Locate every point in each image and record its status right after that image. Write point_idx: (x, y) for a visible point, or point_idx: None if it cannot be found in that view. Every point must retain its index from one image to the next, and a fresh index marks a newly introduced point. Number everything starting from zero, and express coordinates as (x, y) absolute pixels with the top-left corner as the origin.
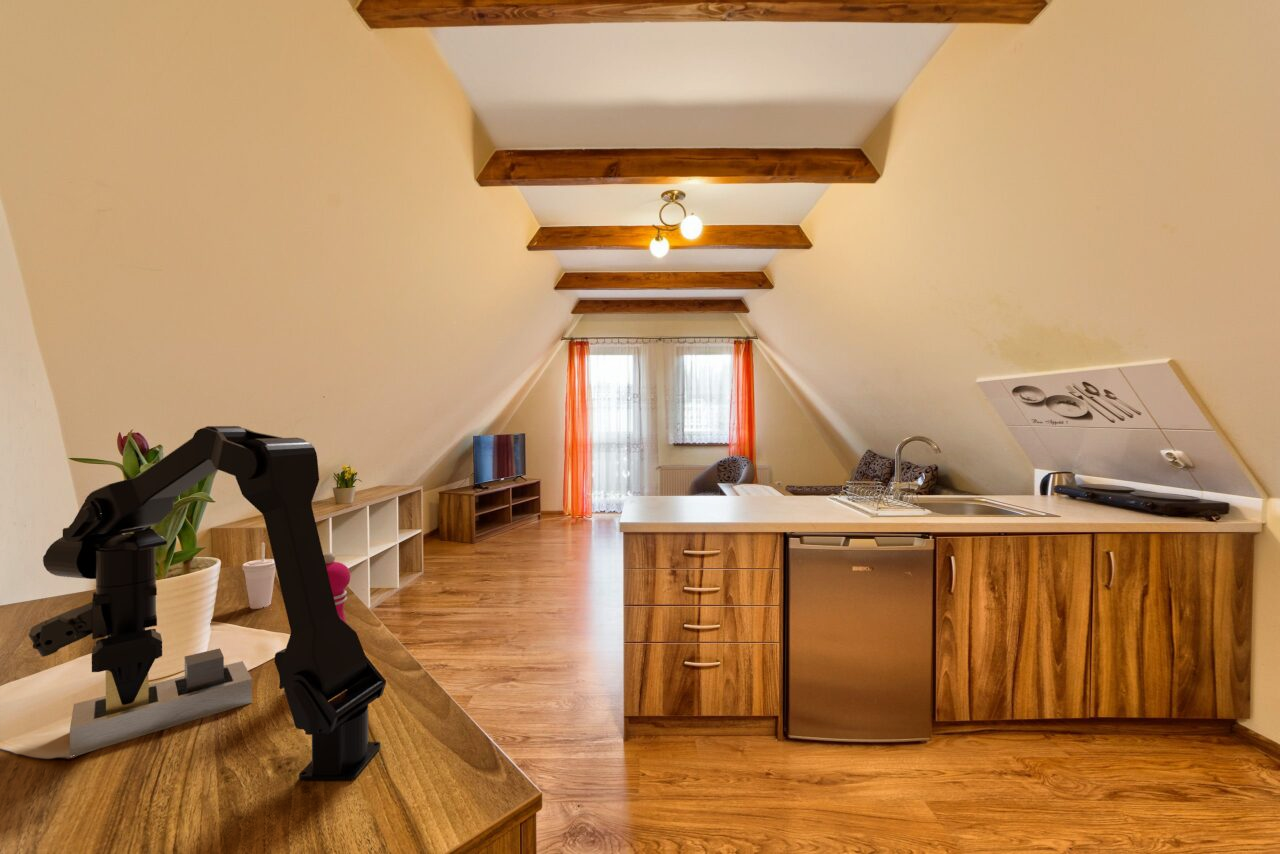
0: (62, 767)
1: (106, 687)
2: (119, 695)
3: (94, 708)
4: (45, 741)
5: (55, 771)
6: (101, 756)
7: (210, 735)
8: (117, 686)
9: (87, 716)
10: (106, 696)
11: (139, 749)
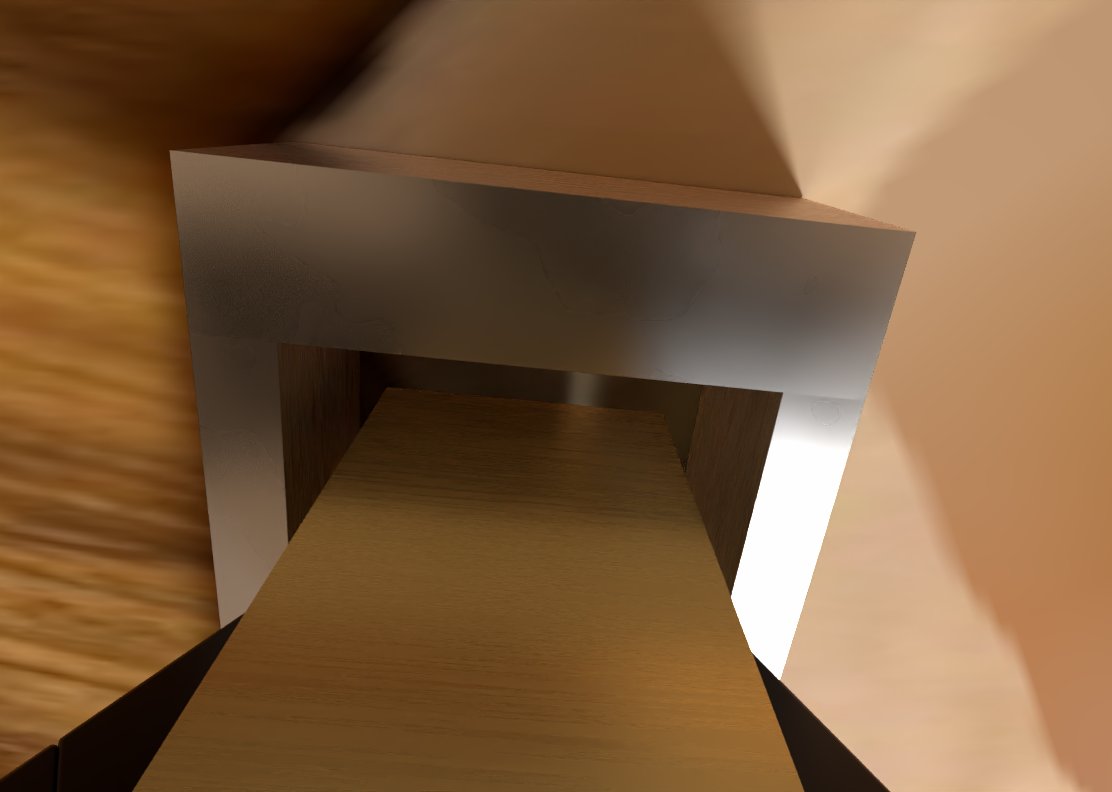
0: (158, 89)
1: (246, 618)
2: (228, 624)
3: (571, 370)
4: (782, 15)
5: (119, 45)
6: (163, 298)
7: (44, 721)
8: (103, 721)
9: (406, 305)
10: (298, 533)
11: (111, 466)
